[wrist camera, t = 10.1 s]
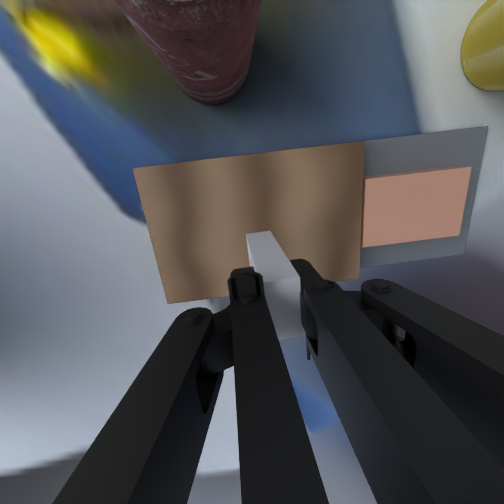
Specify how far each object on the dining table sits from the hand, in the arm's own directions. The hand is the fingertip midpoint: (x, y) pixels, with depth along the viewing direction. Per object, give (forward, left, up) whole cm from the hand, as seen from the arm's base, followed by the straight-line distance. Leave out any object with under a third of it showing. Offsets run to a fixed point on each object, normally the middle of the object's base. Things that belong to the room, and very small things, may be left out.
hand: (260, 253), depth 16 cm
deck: (0, 0, -9) cm, 9 cm away
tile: (+14, 0, -8) cm, 16 cm away
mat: (+15, 0, -9) cm, 18 cm away
